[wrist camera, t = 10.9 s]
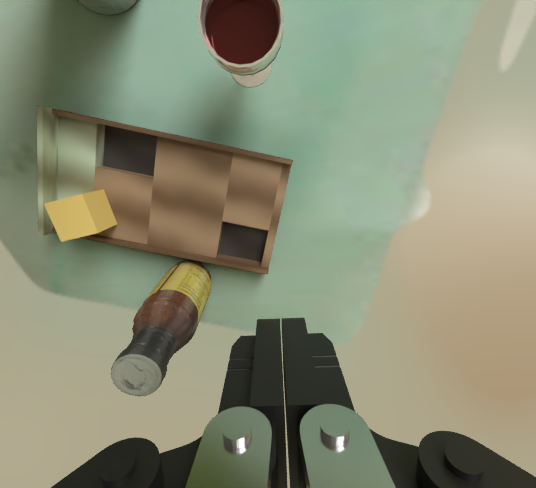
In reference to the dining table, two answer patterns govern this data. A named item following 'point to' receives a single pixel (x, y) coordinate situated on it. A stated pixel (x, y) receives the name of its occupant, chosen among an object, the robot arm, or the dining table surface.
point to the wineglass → (242, 36)
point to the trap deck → (164, 189)
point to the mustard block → (81, 215)
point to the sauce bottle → (162, 328)
